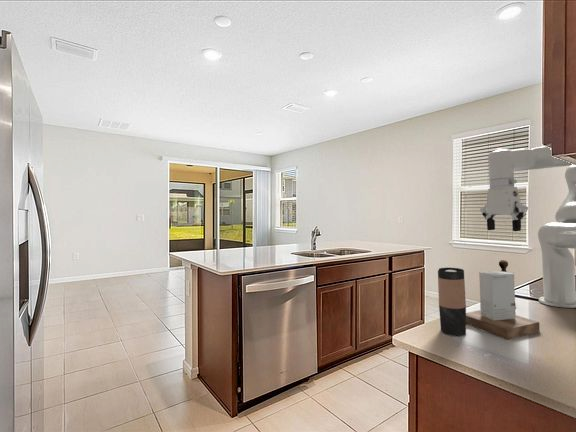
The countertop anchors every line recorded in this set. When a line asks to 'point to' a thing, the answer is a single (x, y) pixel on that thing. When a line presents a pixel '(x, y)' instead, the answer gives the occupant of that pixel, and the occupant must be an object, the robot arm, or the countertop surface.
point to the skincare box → (497, 295)
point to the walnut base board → (503, 325)
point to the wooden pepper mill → (504, 266)
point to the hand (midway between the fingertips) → (503, 230)
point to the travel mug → (452, 301)
